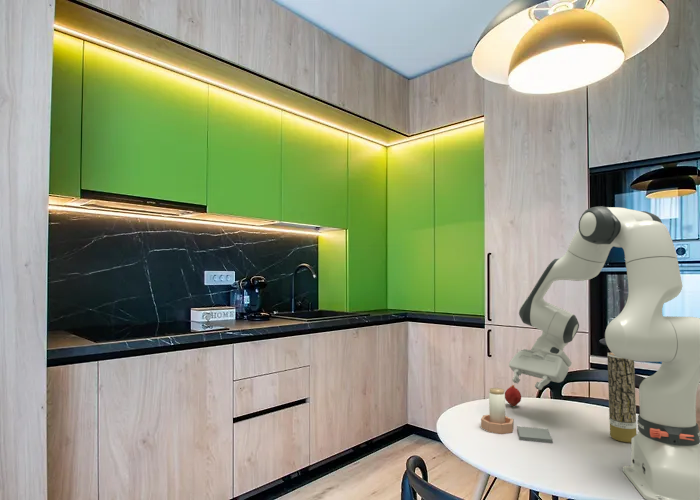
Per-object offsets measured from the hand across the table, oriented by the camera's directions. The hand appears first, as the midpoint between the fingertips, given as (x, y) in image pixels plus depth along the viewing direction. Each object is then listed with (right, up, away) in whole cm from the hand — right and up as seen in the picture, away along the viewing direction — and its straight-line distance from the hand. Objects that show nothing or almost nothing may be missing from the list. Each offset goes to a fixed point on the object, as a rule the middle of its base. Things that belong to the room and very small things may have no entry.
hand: (525, 385), depth 145 cm
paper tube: (+23, -12, -15) cm, 30 cm away
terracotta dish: (-12, -12, -6) cm, 18 cm away
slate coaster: (-3, -12, -13) cm, 17 cm away
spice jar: (-11, -11, -6) cm, 17 cm away
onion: (+2, -13, +16) cm, 21 cm away
